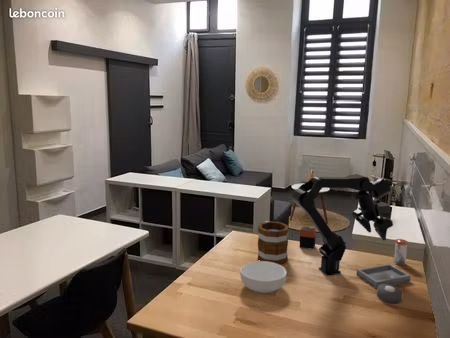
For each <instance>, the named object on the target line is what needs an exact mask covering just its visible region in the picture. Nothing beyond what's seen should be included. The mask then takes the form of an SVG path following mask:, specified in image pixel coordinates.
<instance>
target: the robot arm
mask: <svg viewBox="0 0 450 338" xmlns="http://www.w3.org/2000/svg"><path fill="white" fill-rule="evenodd" d="M323 188H324V189H325V188H326V189H329V188H331V189H334V188H335V189H336V188H337V189H352V190H354V191H353V192H352V194H351V196H350V198H352V199H354V200H357V201H358V207H357V209H355V210H353V211H352V214H351V215H352V218H354V219H355V220H356V222H357V223H359V225H361V226H362V227H363V228H364V229H365V230H366V231H367V232H368V233H371V232H372V227H371V223H370V222H373V228H374V231H375V232H376V234H377V235H378V236H379V238H381V240H382V241H383V242H384V241H386V240H387V232H388V229H390V228H392V227H393V226H394V222H393V220H392V219H390V218H387V217H385V216H383V215H382V214H386V213H387V214H389V213H390V211H391V210H390V208H391V205H390V203H389V204H388V203H387V202H383V201H381V200H380V198H382V197H384V196H385V195H388V194H389V193H391V191H392V190H391V186H390V185H389V184H388V183H387V181H386V180H385V178H383V177H379V178H378V179H377V180H375V181H373V182H371V180H370V178H369V177H368V176H364V175H361V174H359V173H353V174H348V175H347V176H317V175H316V176H313V177H311V178H310V179H309V180H308V181H306V182H304V183H303V184H301V185H300V186H299V187H298V188H295V189H294V190H293V191H292V193H291V200H292V201H293V202H294V203H295V204H296V205H297V206H298V207H299V208H300V209H301V210H303V211H304V212H305V214H306V215H307V217H308V218H309V219H310V221H311V223H312V225H314V228H316V229H317V231H318V233H319V234H320V236H321V237H322V242H323V244H322V245H321V246H320V248H318V252H319V253H320V255H321V261H320V267H318V270H319V271H320V272H322V273H323V274H324V275H326V276H332V275H334V276H335V275H337V274H342V272H341V271H340V265H341V264H340V262H341V261H342V259H343V256H344V254H345V252H346V249H347V242H346V241H344V239H343V237H342V235H340V234H339V233H337V232H336V231H334V230H333V231H332V230H331V228H330V227H329V226H328V224H327V223H326V221H325V220H324V218H323V217H322V215H321V213H320V212H319V210H318V209H317V208H316V202H315V199H316V198H317V197H318V196H319V194H320V192H321V190H322V189H323ZM374 198H375V199H374ZM381 216H383V217H381ZM380 217H381V218H380Z"/></svg>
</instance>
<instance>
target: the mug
mask: <svg viewBox="0 0 450 338" xmlns="http://www.w3.org/2000/svg"><path fill="white" fill-rule="evenodd" d="M257 232H258V234H257V235H258V238H257V259H258V260H260V261H267V262H273V263H276V264H279V265H281V266H283V265H286V264H287V262H288V259H289V257H288V245H289V244H288V243H289V236H288V235H289V234H288V232H289V225H288V224H285V223H283V222H280V221H279V222H278V221H270V220H265V221H264V222H261V223H259V224H258V227H257ZM258 260H257V261H258ZM285 263H286V264H285ZM282 264H283V265H282Z"/></svg>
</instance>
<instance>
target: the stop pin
mask: <svg viewBox="0 0 450 338" xmlns="http://www.w3.org/2000/svg"><path fill="white" fill-rule="evenodd" d="M394 245H395V247H394V258H393V263H394V264H395V265H396V266H397V265H398V266H405V265H406V262H407V261H406V260H407V250H408V241H407V240H406V239H403V238H397V239H395V244H394Z"/></svg>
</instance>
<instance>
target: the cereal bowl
mask: <svg viewBox="0 0 450 338" xmlns="http://www.w3.org/2000/svg"><path fill="white" fill-rule="evenodd" d="M287 272H288V271H287V269H286V268H285V267H284V266H283V265H279V264H276V263H273V262H267V261H258V260H257V261H251V262H248V263H245V264H244V265H242V267H241V268H240V269H239V275H240V279H241V282H242V284H244V286H245V287H246V288H248V289H250V290H251V291H254V292H256V293H259V294H269V293H272V292H275V291H277V290H279V289H280V288H282V287H283V286H284V285H285V283H286V281H287V274H288V273H287Z"/></svg>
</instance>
